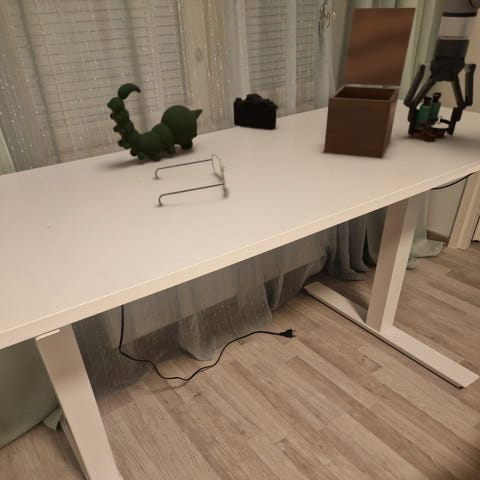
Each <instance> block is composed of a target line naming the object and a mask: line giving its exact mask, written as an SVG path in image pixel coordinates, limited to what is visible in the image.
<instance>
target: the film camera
mask: <svg viewBox="0 0 480 480" xmlns="http://www.w3.org/2000/svg"><path fill="white" fill-rule="evenodd" d="M232 106H233V107H232V108H233V125H234V126H236V127H244V128H251V129H252V128H253V129H260V130H268V131H269V130H270V131H271V130H275V129H276V127H277V110H279V106H278V105H277V104H276V103H275V102H274V100H271V99H270V98H269V97H267V98H263V97H262V96H261V95H260V94H258V93H255V92H253V93H248V94H246V97H245V99H243V98H242V97H238V96H237V97H235V99H234V101H233V104H232Z"/></svg>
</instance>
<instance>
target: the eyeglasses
mask: <svg viewBox="0 0 480 480" xmlns="http://www.w3.org/2000/svg"><path fill="white" fill-rule="evenodd" d="M214 156H215V158H217V159H218V163H219V167H220V174H221V176H220V175H218V173H217V172H216V170H215V166H214V160H213V157H214ZM204 162H211V165H212V169H213V171H214V174H215V175H216V176H217V177H218V178H219V179H221V180H222V183H217V184H211V185H207V186H206V185H205V186H202V187H196V188H195V187H194V188H189V189H184V190H178V191H177V190H176V191H172V192H167V193H162V194H160V195H159V197H158V200H157V201H158V205H159V207H161V206H162V205H163V204H162V202H161V201H162V200H161V198H162V197H164V196H165V197H166V196H171V195H177V194H182V193H187V192H192V191H193V192H194V191H197V190H204V189H209V188H214V187H220V186H222V187H223V195H224V197H225V196H227V195H228V191H227V184H226V181H225V173H224V172H225V168H226V167H225V165H224V162H223V160H222V159H221V158H219V156H218V155H217V154H215V153H212V154H211V158H209V159H203V160H197V161H191V162H186V163H179V164H174V165H168V166H167V165H166V166H162V167H158V168H156V169H155V171H154V175H155V179H159V176H158V171H159V170H166V169H171V168H177V167H181V166H187V165H194V164H200V163H204Z"/></svg>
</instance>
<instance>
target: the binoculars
mask: <svg viewBox="0 0 480 480" xmlns="http://www.w3.org/2000/svg"><path fill="white" fill-rule="evenodd" d="M441 97H442V92H439V91H437V92H433V94H432V97H431V96H427V95H426V96H425V97H424V98H423V100H422V101H423V103H420V104H419V105H420V106H419V108H418V110H419V111H418V116H417V120H416V125H415V129H414V133H413V136H411V138H412V137H413V138H420V137H422V139H424V140H427V141H430V142H435V141H436V139H442V138H444V137H445V135H446V133H447V131H449V130H450V129H451V127H452V122H450V119H445V118H443V116H442V115H439V113H440V111H441V110H440V109H441V107H442V102H441V101H439V100H440V99H441ZM436 124H437V125H441V124H444V125H447V127H435V125H436ZM448 126H450V127H448Z"/></svg>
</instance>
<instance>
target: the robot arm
mask: <svg viewBox="0 0 480 480" xmlns="http://www.w3.org/2000/svg"><path fill="white" fill-rule="evenodd" d="M479 9H480V0H445V2H444V7H443V12H442V14H441V15H442V16H441V19H440V24H439V27H438V28H439V29H438V32H437V33H438V34H437V35H438V37H439V38H437V39H436V41H435V46H434V51H433V54H432V58H431V61H430V62H429V63H422V62H420V63H418V64H417V69H416V73H415V76H414V78H413V80H412V82H411V84H410V87H409V89H408V91H407V93H406V95H405V98H404V99H403V102H402V104H403V106H405V107H406V108H408V113H407V117H406V120H407V122H408V123H409V125H408V129H407V134H408V136H409V137H412V136H413V133H414V129H415V125H416V120H417V116H418V111H419V108H417V107H418V106H419V105H421V103H422V101H424V100H423V99H424V97H425V96H427V94H428V93H429V92H430V91H431V89H433V87H434V86H435V85H436V84H437V82H438V83H442V82H447V83H450V85H451V88H452V92H453V96H454V99H455V103H456V106H453V107H452V111H451V115H450V119H449V121H450V122H452V127H451V129H450V130H449V131H447V132H446V134H447V135H449V137H450V136H453V135H454V134H455V133H454V132H455V129H456V125H457V122H458V123H459V122H460V121H461V119H462V116H463V113H464V110H466V108H468V107H472V106H473V104H474V79H475V77H474V75H475V72H476V70H477V64H476V63H474V62H472V61H471V62H466V60H465V59H466V57H467V53H468V49H469V46H470V37H471V36H472V35H473V31H474V27H475V23H476V19H477V15H478V12H479ZM428 70H429V71H430V75H429V76H428V77H427V79H426V82H425V83H424V84H423V85H422V87H421V88H420V90H419V91H418V89H419V87H420V85H421V83H422V81H423V79H424V76H425V74H427V73H428ZM462 71H463V72H464V95H463V91H462V87H461V84H460V77H459V75H460V73H461V72H462ZM417 91H418V92H417ZM448 127H450V126H449V125H447V128H448Z"/></svg>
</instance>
